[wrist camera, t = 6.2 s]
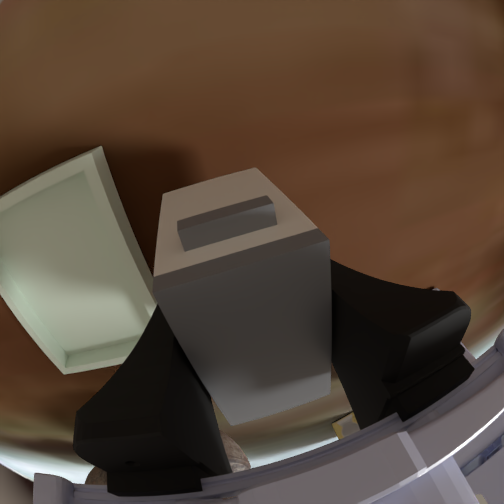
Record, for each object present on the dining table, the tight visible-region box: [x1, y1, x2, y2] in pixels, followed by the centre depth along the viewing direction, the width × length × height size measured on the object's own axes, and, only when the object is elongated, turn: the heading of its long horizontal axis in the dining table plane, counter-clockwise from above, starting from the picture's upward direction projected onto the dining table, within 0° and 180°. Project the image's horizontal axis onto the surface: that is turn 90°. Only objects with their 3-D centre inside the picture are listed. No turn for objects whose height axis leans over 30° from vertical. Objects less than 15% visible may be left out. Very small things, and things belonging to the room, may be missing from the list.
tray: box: [0, 146, 157, 374], centre depth 14 cm, size 12×9×2 cm
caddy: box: [152, 168, 332, 426], centre depth 11 cm, size 8×4×7 cm, turn 11°
